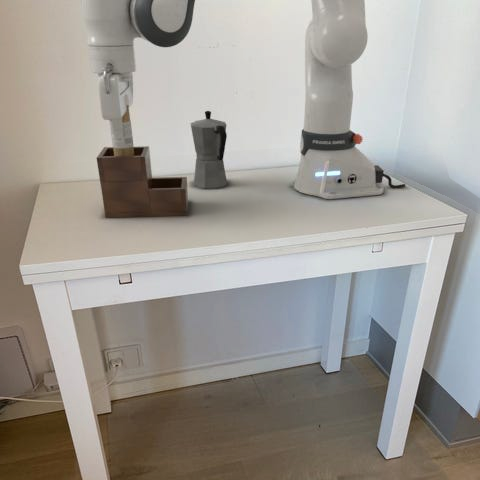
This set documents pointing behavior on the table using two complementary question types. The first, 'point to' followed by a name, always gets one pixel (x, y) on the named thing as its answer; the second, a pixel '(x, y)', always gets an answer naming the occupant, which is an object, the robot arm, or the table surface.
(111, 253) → the table surface
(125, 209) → the caddy
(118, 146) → the sprinkles bottle
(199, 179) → the coffeepot
